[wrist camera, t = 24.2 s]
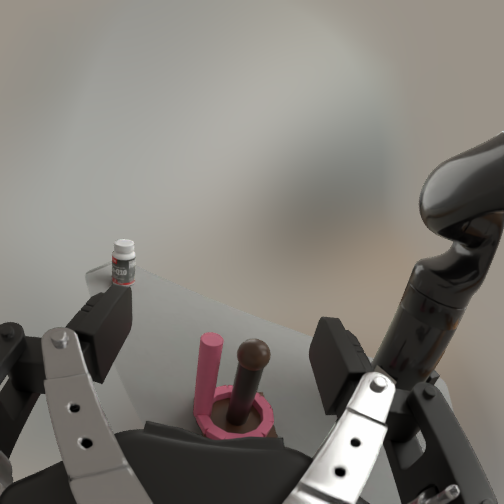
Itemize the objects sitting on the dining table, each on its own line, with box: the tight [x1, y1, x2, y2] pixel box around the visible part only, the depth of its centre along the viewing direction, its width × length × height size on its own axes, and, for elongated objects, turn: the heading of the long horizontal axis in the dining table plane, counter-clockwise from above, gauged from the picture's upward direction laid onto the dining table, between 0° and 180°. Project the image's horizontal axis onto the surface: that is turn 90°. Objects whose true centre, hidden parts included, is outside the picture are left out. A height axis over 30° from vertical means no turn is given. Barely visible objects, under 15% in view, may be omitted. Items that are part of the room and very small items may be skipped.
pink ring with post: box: [193, 332, 274, 440], centre depth 26 cm, size 9×8×11 cm
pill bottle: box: [112, 239, 136, 286], centre depth 51 cm, size 5×5×8 cm
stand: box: [202, 339, 278, 439], centre depth 26 cm, size 8×8×12 cm
